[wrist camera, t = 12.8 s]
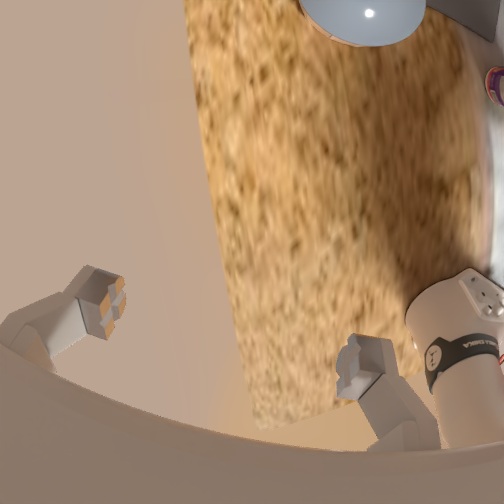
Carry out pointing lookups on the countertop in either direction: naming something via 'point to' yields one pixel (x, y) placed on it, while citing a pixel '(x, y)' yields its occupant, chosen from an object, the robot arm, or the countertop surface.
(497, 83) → the pill bottle
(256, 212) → the countertop surface
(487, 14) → the mat
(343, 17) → the lid
